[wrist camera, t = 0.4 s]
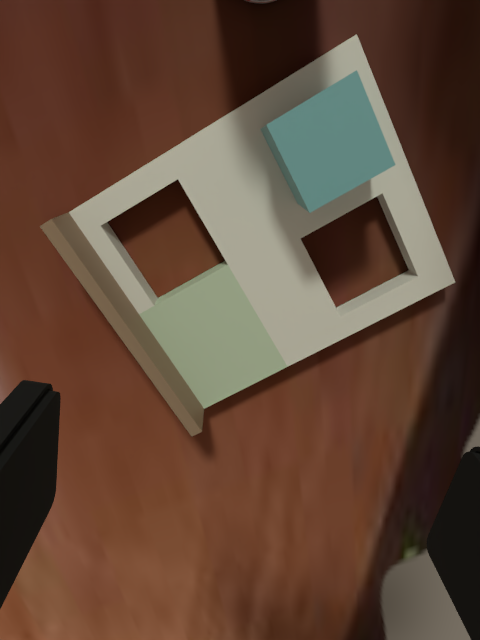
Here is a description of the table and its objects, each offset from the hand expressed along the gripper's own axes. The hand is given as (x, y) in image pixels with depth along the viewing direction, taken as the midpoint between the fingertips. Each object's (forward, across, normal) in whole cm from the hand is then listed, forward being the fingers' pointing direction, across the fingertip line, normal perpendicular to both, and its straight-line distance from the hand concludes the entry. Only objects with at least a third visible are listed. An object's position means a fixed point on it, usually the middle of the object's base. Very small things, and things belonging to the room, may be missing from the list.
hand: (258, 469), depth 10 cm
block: (+26, -4, -8) cm, 28 cm away
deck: (+28, -2, 0) cm, 29 cm away
